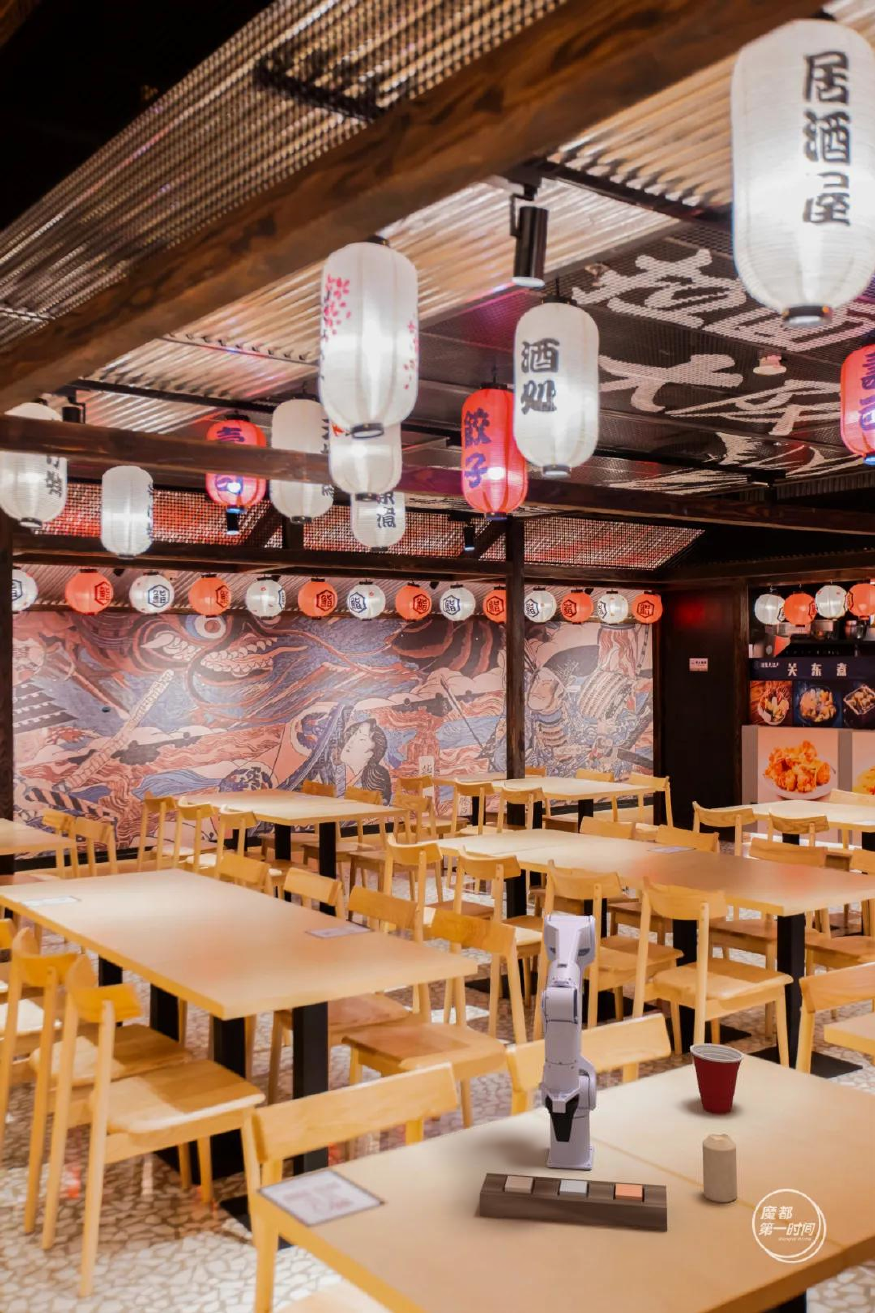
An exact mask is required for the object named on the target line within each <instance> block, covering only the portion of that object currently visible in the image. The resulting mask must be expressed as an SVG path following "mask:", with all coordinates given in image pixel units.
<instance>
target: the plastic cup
mask: <svg viewBox="0 0 875 1313" xmlns="http://www.w3.org/2000/svg"><path fill="white" fill-rule="evenodd" d="M689 1048H690V1049H689V1050H690V1053H691V1056H692V1058H693V1063H694V1064H693V1065H694V1069H695V1074H696V1081H697V1086H698V1092H699V1096H700V1102H701V1106H702V1110H704V1111H705V1112H707V1113H709V1112H710V1113H711V1114H715V1115H723V1114H722V1113H726V1114H728V1113H727V1112H729V1113H730V1112H731V1111H732V1108H733V1104H734V1102H733V1101H734V1096H735V1092H736V1087H737V1086H736V1085H737V1079H738V1074H739V1070H740V1069H739V1068H740V1066H741V1062H742V1060H743V1059H744V1058H745V1056H744V1053H743V1052H741V1051H740V1050H739V1049H737V1048H733V1047H731V1046H727V1045H723V1044H714V1043H703V1042H702V1043H696V1044H693V1045H690V1047H689Z"/></svg>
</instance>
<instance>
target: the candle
mask: <svg viewBox="0 0 875 1313" xmlns="http://www.w3.org/2000/svg"><path fill="white" fill-rule="evenodd" d="M737 1168H738V1167H737V1144H736V1143H735V1142H734V1140H733V1139H732V1138H731V1136H729V1135H728V1134H727V1133H722V1134H716V1133H712V1134H709V1135H708V1136H707V1137H706V1138H705V1139H703V1141H702V1174H703V1176H702V1178H703V1179H702V1181H703V1195H704V1197H705V1198H706V1199H708V1200H711V1201H714V1202H717V1203H730V1202H731V1203H732V1202H733V1200H734V1199H735V1200H737V1198H738V1174H737V1173H738V1172H737ZM735 1200H734V1201H735Z"/></svg>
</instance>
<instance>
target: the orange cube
mask: <svg viewBox="0 0 875 1313" xmlns="http://www.w3.org/2000/svg"><path fill="white" fill-rule="evenodd" d="M615 1198H616V1200H626V1201H639V1202H642V1185H629V1184H616V1194H615Z"/></svg>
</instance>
